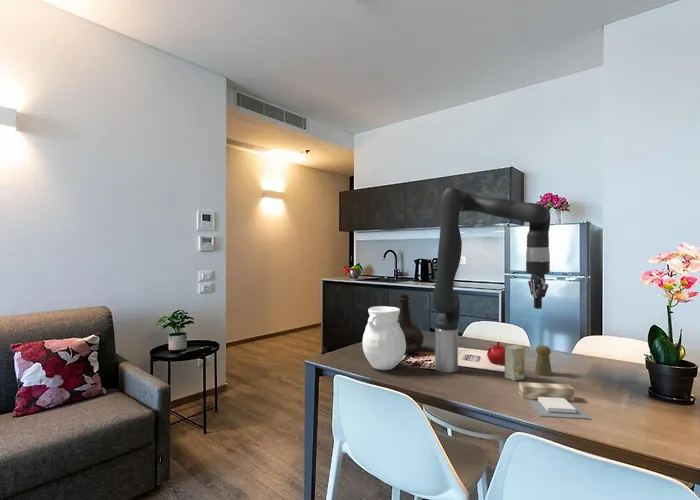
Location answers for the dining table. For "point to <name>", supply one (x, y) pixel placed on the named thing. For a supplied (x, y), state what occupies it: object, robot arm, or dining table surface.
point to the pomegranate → (497, 354)
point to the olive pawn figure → (543, 361)
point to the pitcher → (384, 338)
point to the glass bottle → (409, 326)
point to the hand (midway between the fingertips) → (537, 308)
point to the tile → (556, 405)
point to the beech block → (546, 390)
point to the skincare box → (514, 362)
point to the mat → (545, 413)
